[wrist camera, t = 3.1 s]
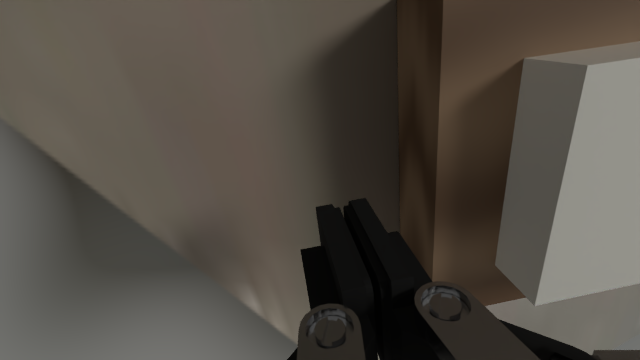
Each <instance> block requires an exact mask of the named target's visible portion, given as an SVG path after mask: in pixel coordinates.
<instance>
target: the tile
mask: <svg viewBox="0 0 640 360" xmlns="http://www.w3.org/2000/svg"><path fill="white" fill-rule="evenodd" d="M495 266H496V267H497V268H498V269H499V270H500V271H501V272H502V273H503V274H504V275H505V276H506V277H507V278H508V279H509V280H510V281H511V282H512V283H513V284H514V285H515V286H516V287H517V288H518V289H519V290H520V291H521V292H522V293H523V294H524V295H525V296H526V298H527V299H528V300H529V301H530V302H531V303H532V304H533V305H534V306H537V305H541V304H546V303H551V302H555V301H560V300H565V299H569V298H574V297H579V296H583V295H588V294H592V293H597V292H602V291H606V290H611V289H616V288H620V287H625V286H629V285H634V284H639V283H640V41H638V42H631V43H624V44H617V45H611V46H604V47H597V48H590V49H583V50H576V51H569V52H562V53H556V54H549V55H542V56H535V57H528V58H524V62H523V69H522V76H521V83H520V90H519V97H518V104H517V111H516V118H515V126H514V133H513V140H512V147H511V154H510V161H509V168H508V175H507V182H506V189H505V197H504V204H503V211H502V218H501V225H500V232H499V239H498V246H497V253H496V261H495Z"/></svg>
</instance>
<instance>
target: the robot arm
mask: <svg viewBox="0 0 640 360" xmlns="http://www.w3.org/2000/svg"><path fill="white" fill-rule="evenodd" d="M316 213H317V220H318V227H319V235H320V242H321V246H317V247H312V248H307V249H301V255H302V261H303V267H304V273H305V279H306V285H307V291H308V296H309V302H310V308H311V310H310V311H309V312H308V313H307V314H306V315H305V316H304V318H303V319H302V321H301V323H300V327H299V333H298V347H297V349H296V350H295V351H294V352H293V354H292V355H291V356H290V357H289V358H288V359H287V360H378V355H379V358H380V360H640V350H594V352H593V355H589V354H588V353H586V352H584V351H582V350H580V349H577V348H575V347H573V346H570V345H568V344H565V343H562V342H559V341H557V340H554V339H551V338H548V337H546V336H543V335H540V334H537V333H535V332H532V331H529V330H526V329H524V328H521V327H518V326H515V325H513V324H510V323H507V322H504V321H502V320H499V319H497V318H496V317H495V316H494V315H493V314H492V313H491V312H490V311H489V310H488V309H487V308H486V307H485V306H484V305H483V304H482V303H481V302H480V301H479V300H478V299H477V298H475V297H474V296H473V295H472V294H471V293H470V292H469V291H467V290H466V289H465V288H463V287H461V286H459V285H457V284H454V283H450V282H445V281H435V282H432V280H431V279H430V277H429V276H428V274H427V273H426V271H425V270H424V268H423V267H422V265H421V264H420V262H419V261H418V259H417V258H416V257H415V255H414V254H413V252H412V251H411V249H410V248H409V246H408V245H407V243H406V242H405V240H404V239H403V237H402V236H401V234H400V233H399V232H397V231H396V232H390V233H387V232H386V230H385V229H384V227H383V225H382V224H381V222H380V221H379V219H378V217H377V216H376V214H375V213H374V211H373V209H372V208H371V206H370V204H369V203H368V201H367V200H366V198H363V199H358V200H352V201H349V205H348V206H344V217H343V215H342V212H341V210H340V208H339V207H337V208H334V207H333V205H332V204H330V205H324V206H319V207H316ZM377 352H378V354H377Z"/></svg>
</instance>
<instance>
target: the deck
mask: <svg viewBox="0 0 640 360" xmlns="http://www.w3.org/2000/svg"><path fill="white" fill-rule="evenodd" d="M638 41H640V0H397V46H398V119H399V192H400V234H401V236H402V237H403V239H404V240H405V242H406V243H407V245H408V246H409V248H410V249H411V251H412V252H413V254H414V255H415V257H416V258H417V259H418V261H419V262H420V264H421V265H422V267H423V268H424V270H425V271H426V273H427V274H428V276H429V277H430V279H431V280H432V282H435V281H445V282H450V283H454V284H457V285H459V286H461V287H463V288H465V289H466V290H467V291H469V292H470V293H471V294H472V295H473V296H474V297H475V298H477V299H478V300H479V301H480V302H481V303H482V304H483V305H484V306H487V305H492V304H497V303H501V302H506V301H511V300H515V299H520V298H525V297H526V296H525V295H524V294H523V293H522V292H521V291H520V290H519V289H518V288H517V287H516V286H515V285H514V284H513V283H512V282H511V281H510V280H509V279H508V278H507V277H506V276H505V275H504V274H503V273H502V272H501V271H500V270H499V269H498V268H497V267H496V266H495V261H496V253H497V246H498V239H499V232H500V225H501V218H502V211H503V204H504V197H505V189H506V182H507V175H508V168H509V161H510V154H511V147H512V140H513V133H514V126H515V118H516V111H517V104H518V97H519V90H520V83H521V76H522V69H523V62H524V58H528V57H535V56H542V55H549V54H556V53H562V52H569V51H576V50H583V49H590V48H597V47H604V46H611V45H617V44H624V43H631V42H638Z"/></svg>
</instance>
